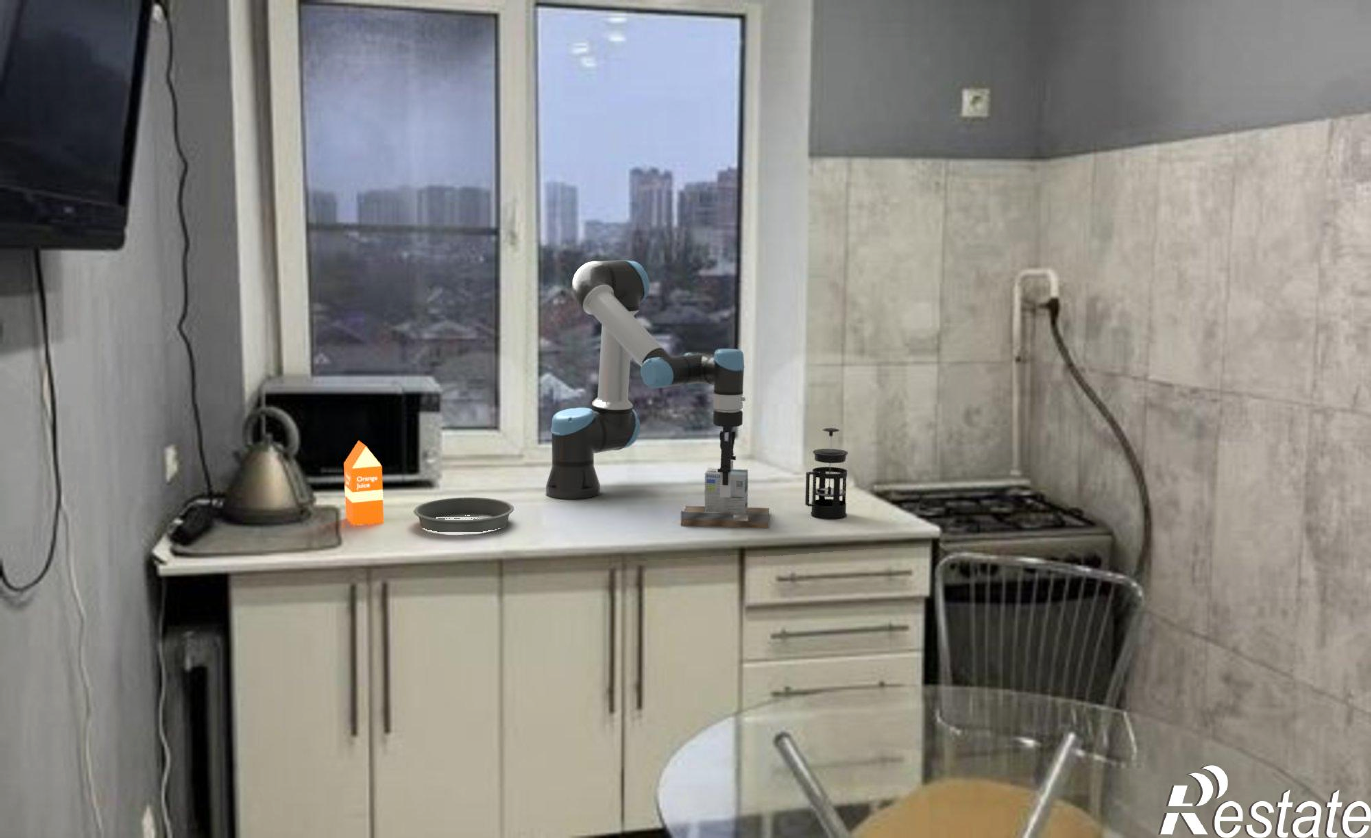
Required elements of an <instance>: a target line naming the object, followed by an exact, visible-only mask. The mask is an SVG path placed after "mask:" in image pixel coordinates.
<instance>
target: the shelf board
mask: <svg viewBox="0 0 1371 838" xmlns="http://www.w3.org/2000/svg"><path fill="white" fill-rule="evenodd" d="M769 525H770V507H749V506H748V509H747V511H746V513H737V512H705V505H685V506H684V510H681V511H680V526H683V527H685V526H686V527H687V526H688V527H715V528H718V527H719V528H749V529H750V528H751V529H752V528H753V529H769V527H770V526H769Z"/></svg>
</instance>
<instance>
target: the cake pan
mask: <svg viewBox="0 0 1371 838" xmlns="http://www.w3.org/2000/svg"><path fill="white" fill-rule="evenodd" d="M514 510H515V507H514V506H513V504H512V503H509V502H507V501H504V500H501V499H498V498H497V499H496V498H491V497H490V498H488V497H477V496H476V497H472V496H470V497H469V496H468V497H465V496H464V497H450V498H441V499H435V500H431V501H427V502H424V503H421V504H419V505H417V506H416V507H415V508H414V509H413V514H414V515H415V516H417V517H418V521H419V525H420V527H422V528H425V529H427V530H432V531H437V532H483V531H488V530H495V529H498V528H502V527H504V526H505V527H506V526H507V525H508V522H509V518H510V514H512V513H513V512H514ZM465 515H466V516H465ZM467 515H470V516H467ZM480 516H489V517H484V518H479V517H480ZM436 517H478V518H477V519H475V518H474V519H473V520H445V518H438V519H436ZM446 519H447V518H446ZM449 519H450V518H449ZM454 519H460V518H454ZM471 519H472V518H471ZM505 527H504V528H505ZM422 528H421V529H422ZM502 529H503V528H502Z"/></svg>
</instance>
